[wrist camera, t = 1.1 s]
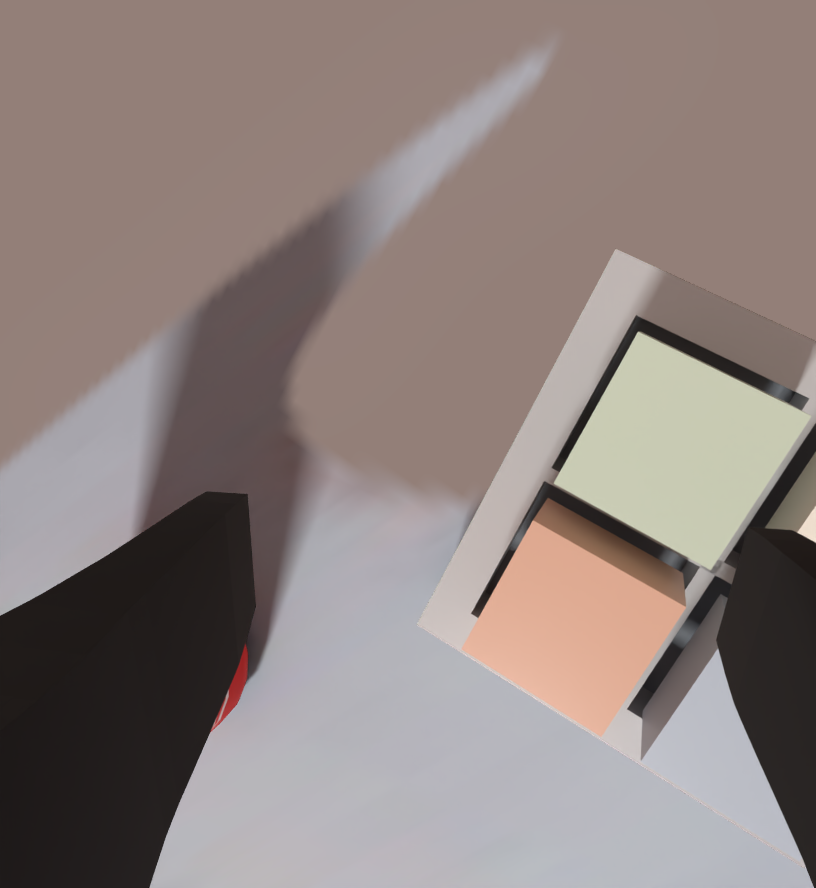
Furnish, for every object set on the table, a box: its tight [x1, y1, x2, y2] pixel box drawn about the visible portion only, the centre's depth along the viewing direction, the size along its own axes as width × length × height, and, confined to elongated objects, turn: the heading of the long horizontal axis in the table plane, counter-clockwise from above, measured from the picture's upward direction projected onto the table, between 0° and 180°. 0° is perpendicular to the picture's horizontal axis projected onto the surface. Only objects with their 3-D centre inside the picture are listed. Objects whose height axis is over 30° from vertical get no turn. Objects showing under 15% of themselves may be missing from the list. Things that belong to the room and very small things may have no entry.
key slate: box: [641, 594, 802, 861], centre depth 17 cm, size 4×4×2 cm
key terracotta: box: [462, 498, 686, 737], centre depth 18 cm, size 4×4×2 cm
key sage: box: [554, 332, 811, 570], centre depth 17 cm, size 4×4×2 cm
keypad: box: [417, 249, 816, 868], centre depth 19 cm, size 12×12×3 cm
